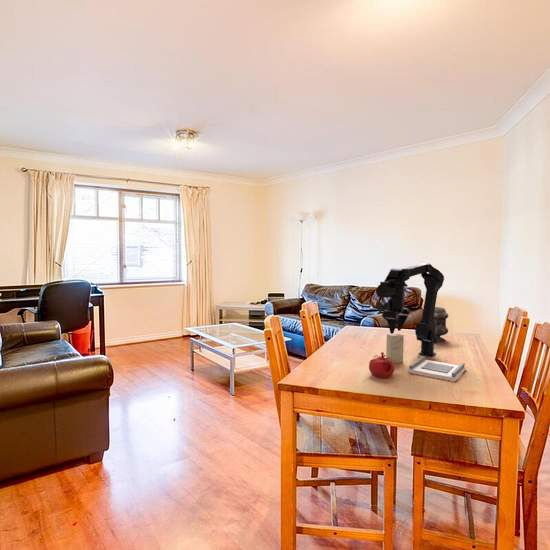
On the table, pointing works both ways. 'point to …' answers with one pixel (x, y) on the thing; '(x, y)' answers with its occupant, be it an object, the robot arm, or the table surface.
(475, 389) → the table surface
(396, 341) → the skincare box
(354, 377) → the table surface
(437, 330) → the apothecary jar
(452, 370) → the stand
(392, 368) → the pomegranate
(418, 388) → the table surface
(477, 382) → the table surface
